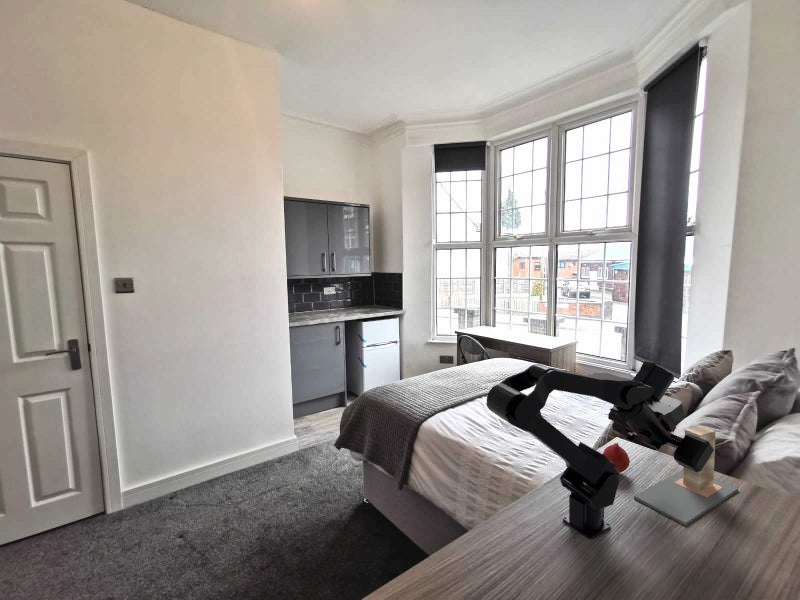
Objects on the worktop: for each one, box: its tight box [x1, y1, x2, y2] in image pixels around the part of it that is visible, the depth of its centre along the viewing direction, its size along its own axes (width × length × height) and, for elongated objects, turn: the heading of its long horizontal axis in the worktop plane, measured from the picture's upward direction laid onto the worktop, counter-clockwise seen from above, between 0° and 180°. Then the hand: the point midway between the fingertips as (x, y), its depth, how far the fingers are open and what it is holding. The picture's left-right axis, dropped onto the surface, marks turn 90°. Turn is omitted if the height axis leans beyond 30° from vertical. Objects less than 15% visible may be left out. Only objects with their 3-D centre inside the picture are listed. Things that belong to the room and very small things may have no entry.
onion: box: [602, 442, 631, 474], centre depth 91 cm, size 6×6×8 cm
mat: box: [633, 468, 739, 526], centre depth 82 cm, size 22×10×1 cm, turn 117°
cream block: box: [683, 425, 716, 491], centre depth 84 cm, size 5×3×13 cm, turn 109°
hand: (676, 457), depth 82 cm, fingers open, 9 cm apart
